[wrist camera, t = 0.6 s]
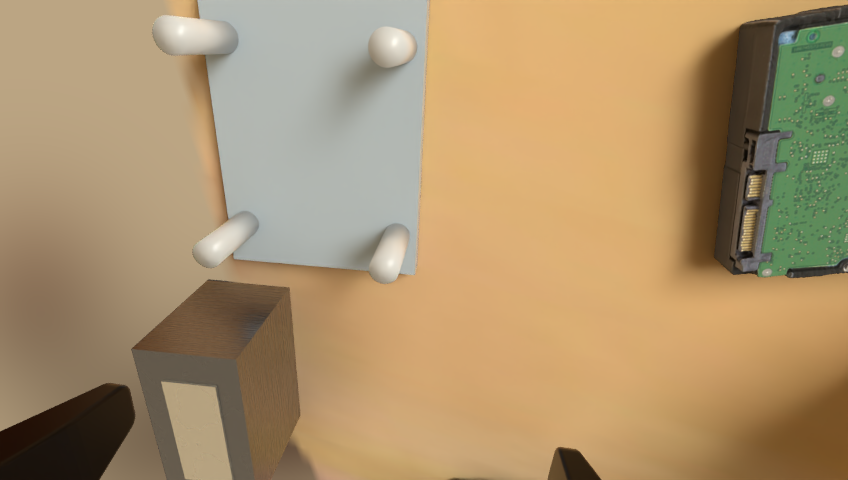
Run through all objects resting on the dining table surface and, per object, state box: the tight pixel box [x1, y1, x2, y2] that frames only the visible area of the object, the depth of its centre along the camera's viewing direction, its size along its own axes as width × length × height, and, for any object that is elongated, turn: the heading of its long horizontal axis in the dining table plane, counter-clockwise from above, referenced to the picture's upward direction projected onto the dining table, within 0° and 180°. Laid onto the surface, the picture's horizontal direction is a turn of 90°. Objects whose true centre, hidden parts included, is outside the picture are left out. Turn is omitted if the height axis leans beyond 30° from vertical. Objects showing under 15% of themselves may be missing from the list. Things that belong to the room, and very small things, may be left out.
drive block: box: [131, 279, 300, 480], centre depth 23 cm, size 9×4×6 cm, turn 177°
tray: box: [152, 0, 430, 284], centre depth 18 cm, size 12×9×4 cm
